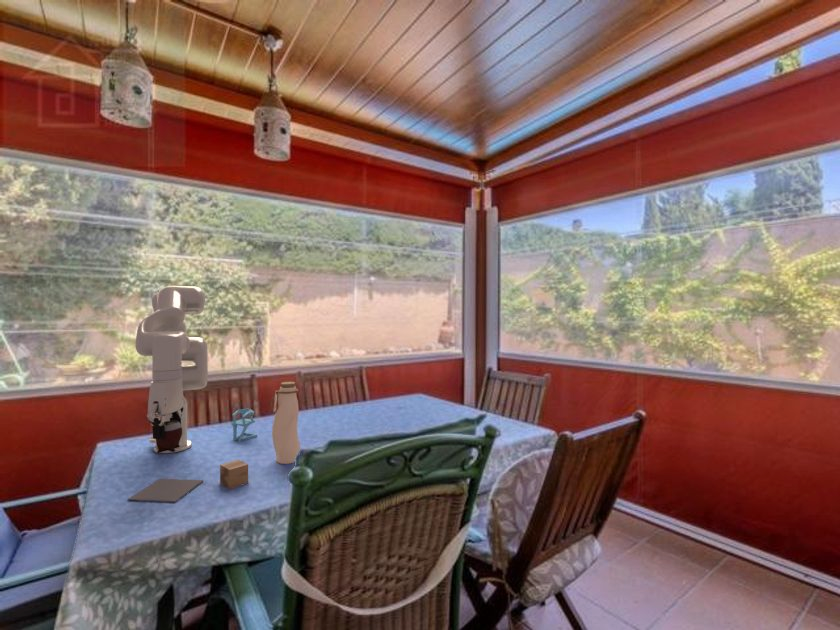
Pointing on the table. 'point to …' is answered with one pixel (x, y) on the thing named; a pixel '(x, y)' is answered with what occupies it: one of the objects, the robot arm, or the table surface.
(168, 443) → the mate gourd
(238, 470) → the brown cube
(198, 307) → the robot arm
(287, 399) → the water bottle
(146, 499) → the rubber mat
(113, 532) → the table surface
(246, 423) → the chair
